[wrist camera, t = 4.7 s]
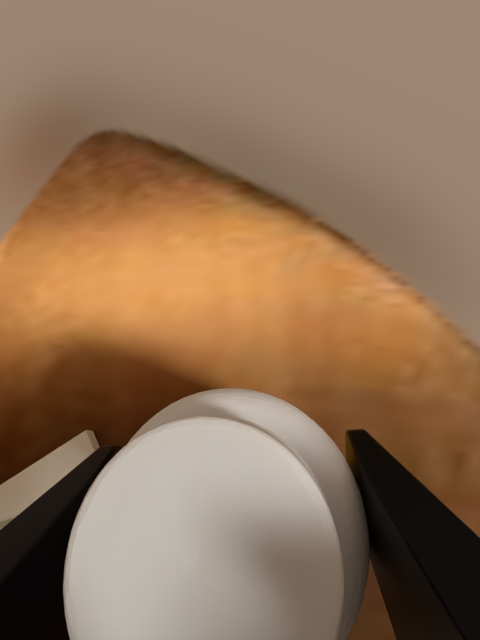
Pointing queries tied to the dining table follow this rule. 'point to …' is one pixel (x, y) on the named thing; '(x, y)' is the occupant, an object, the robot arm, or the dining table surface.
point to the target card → (43, 475)
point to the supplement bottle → (220, 529)
